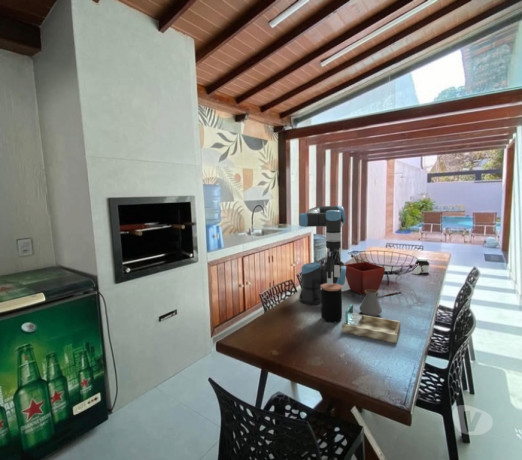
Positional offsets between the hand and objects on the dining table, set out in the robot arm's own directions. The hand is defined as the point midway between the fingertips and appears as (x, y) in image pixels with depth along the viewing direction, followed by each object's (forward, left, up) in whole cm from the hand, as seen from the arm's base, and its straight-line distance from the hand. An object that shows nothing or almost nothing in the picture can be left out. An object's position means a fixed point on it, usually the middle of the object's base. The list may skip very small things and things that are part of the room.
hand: (333, 280), depth 157 cm
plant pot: (+5, +51, -21) cm, 55 cm away
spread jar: (+36, +110, -21) cm, 117 cm away
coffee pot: (+21, +14, -21) cm, 33 cm away
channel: (+20, -6, -21) cm, 30 cm away
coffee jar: (-1, -1, -21) cm, 21 cm away
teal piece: (+12, -6, -20) cm, 24 cm away
